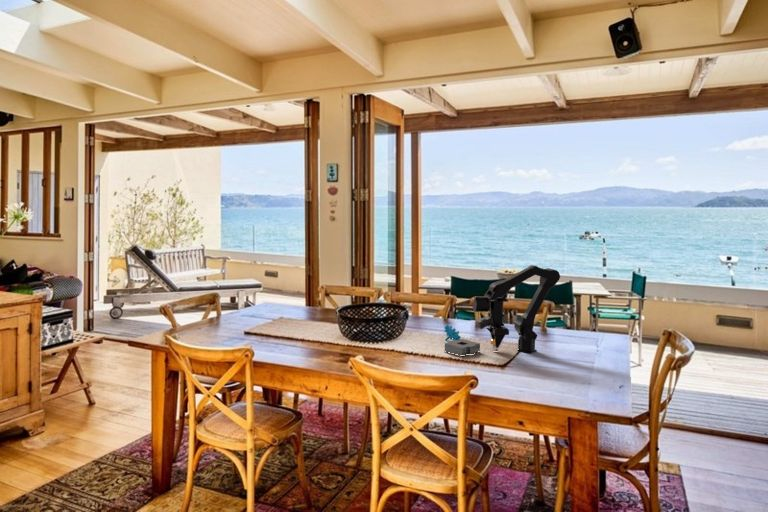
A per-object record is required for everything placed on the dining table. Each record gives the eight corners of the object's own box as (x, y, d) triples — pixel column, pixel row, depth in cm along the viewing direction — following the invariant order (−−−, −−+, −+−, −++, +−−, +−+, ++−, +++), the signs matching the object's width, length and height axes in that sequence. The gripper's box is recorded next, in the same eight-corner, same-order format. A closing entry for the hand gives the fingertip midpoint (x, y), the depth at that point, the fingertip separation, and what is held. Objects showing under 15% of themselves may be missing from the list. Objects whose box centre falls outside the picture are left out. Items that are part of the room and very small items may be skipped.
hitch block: (481, 352, 217) (481, 343, 216) (463, 357, 209) (463, 348, 209) (460, 347, 226) (461, 338, 226) (442, 351, 218) (443, 342, 218)
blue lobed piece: (454, 341, 229) (442, 324, 233) (445, 349, 231) (434, 331, 236) (466, 340, 237) (454, 323, 242) (457, 347, 240) (446, 330, 245)
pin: (502, 352, 218) (502, 339, 218) (496, 353, 215) (496, 341, 215) (494, 350, 221) (494, 337, 221) (488, 351, 219) (488, 339, 218)
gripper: (473, 307, 226) (472, 340, 227) (484, 316, 207) (483, 352, 208) (497, 307, 226) (496, 340, 227) (510, 315, 208) (509, 351, 209)
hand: (495, 346), depth 218 cm, fingers closed on pin, 4 cm apart
